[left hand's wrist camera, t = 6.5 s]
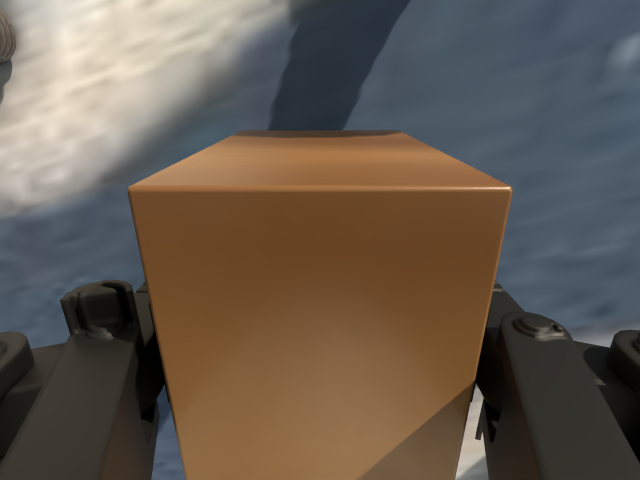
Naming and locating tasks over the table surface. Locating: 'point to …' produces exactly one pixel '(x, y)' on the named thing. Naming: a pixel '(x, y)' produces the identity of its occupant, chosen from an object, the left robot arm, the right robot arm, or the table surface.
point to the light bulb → (6, 38)
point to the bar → (320, 302)
